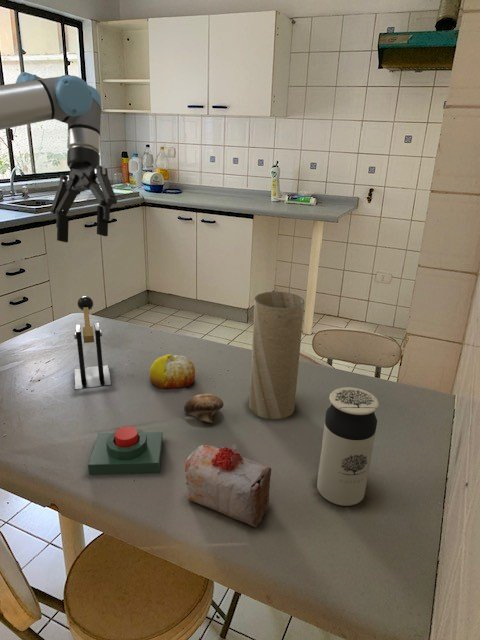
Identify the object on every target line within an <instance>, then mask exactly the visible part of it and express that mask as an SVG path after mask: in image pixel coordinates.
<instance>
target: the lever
mask: <svg viewBox="0 0 480 640" xmlns="http://www.w3.org/2000/svg"><path fill="white" fill-rule="evenodd" d="M77 307H78V309H79V310H80V311H83V319H84V326H83V327H82V339H83V344H90V343H94V342H95V333H94V326H92V325H91V322H90V321H91V320H90V313H89V311H90V310H92V309H93V308H94V301H93V299H92V298H91V297H90V296H87V295H84V296H81V297H79V299H78V300H77Z"/></svg>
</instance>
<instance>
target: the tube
mask: <svg viewBox="0 0 480 640" xmlns="http://www.w3.org/2000/svg"><path fill="white" fill-rule="evenodd" d="M253 303H254V304H253V322H252V323H253V325H252V344H251V362H250V364H251V365H250V379H249V380H250V381H249V383H250V385H249V401H248V403H249V405H248V407H249V409H250V411H251V412H252V413H253V414H254V415H256V416H258V417H260V418H262V419H267V420H282V419H286V418H288V417H290V416H291V415H292V414H293V413H294V411H295V406H296V398H297V397H296V396H297V385H298V375H299V363H300V354H301V344H302V343H301V342H302V333H303V323H304V321H303V320H304V312H305V311H304V310H305V299H304V298H303V297H301V296H300V295H298V294H295V293H291V292H286V291H266V292H265V291H264V292H262V293H258V294H257V295H255V297H254V302H253Z"/></svg>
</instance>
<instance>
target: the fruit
mask: <svg viewBox="0 0 480 640" xmlns="http://www.w3.org/2000/svg"><path fill="white" fill-rule="evenodd" d="M195 378H196V369H195V365H194V362H192V361H191V360H190V358H189V357H187V356H186V355H181V354H179V355H178V354H177V355H176V354H172V353H168V354H165V355H163V356H159V357H157V358H156V359H155V360H154V362H152V364H151V366H150V369H149V381H150V383H151V384H152V385H153V386H155V387H157V388H158V389H163V390H165V389H180V388H183V387H185V388H188V387H189V386H191V385H192V384H193V383H194V382H195Z"/></svg>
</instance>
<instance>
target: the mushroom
mask: <svg viewBox="0 0 480 640" xmlns="http://www.w3.org/2000/svg"><path fill="white" fill-rule="evenodd" d="M223 407H224V400H223V399H222V398H221V397H220V396H218V395H216V394H213V393H200V394H196V395H193V396H191V397H190V398H188V399H187V400H186V402H185V404H184V406H183V410H184V413H185V414H186V415H187V416H188V415H189V416H193V417H196V418H197V420H198V421H200V422H204V423H208V424H214V422H213V416H214V414H215V413H216V412H218V411H220V410H222V409H223Z"/></svg>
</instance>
